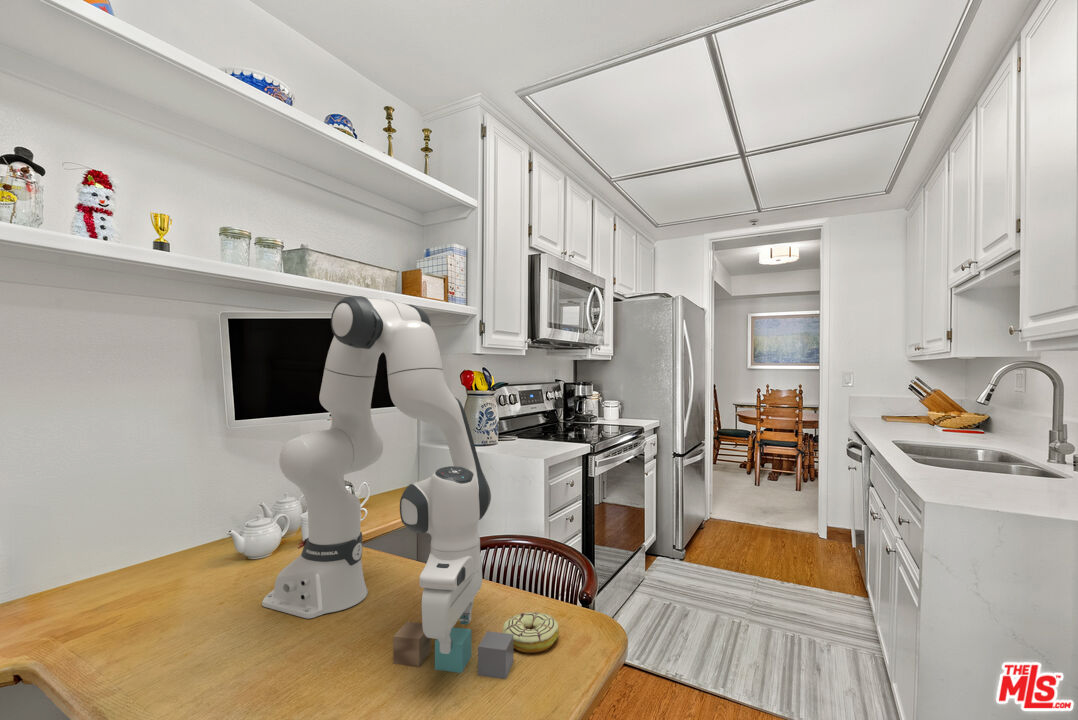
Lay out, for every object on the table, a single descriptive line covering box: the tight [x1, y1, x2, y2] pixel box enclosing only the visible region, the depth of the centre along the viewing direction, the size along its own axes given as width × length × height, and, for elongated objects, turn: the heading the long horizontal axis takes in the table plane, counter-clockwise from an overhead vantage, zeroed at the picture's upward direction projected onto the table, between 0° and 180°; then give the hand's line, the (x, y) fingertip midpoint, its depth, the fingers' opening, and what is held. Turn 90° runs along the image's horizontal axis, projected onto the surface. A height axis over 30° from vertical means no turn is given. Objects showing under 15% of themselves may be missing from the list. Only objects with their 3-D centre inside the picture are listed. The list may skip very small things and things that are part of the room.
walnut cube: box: [392, 621, 432, 668], centre depth 89 cm, size 5×5×5 cm
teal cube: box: [434, 626, 472, 674], centre depth 87 cm, size 5×5×5 cm
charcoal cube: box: [477, 630, 514, 680], centre depth 85 cm, size 5×5×5 cm
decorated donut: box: [502, 611, 560, 654], centre depth 94 cm, size 10×11×4 cm
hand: (456, 636), depth 87 cm, fingers open, 8 cm apart
